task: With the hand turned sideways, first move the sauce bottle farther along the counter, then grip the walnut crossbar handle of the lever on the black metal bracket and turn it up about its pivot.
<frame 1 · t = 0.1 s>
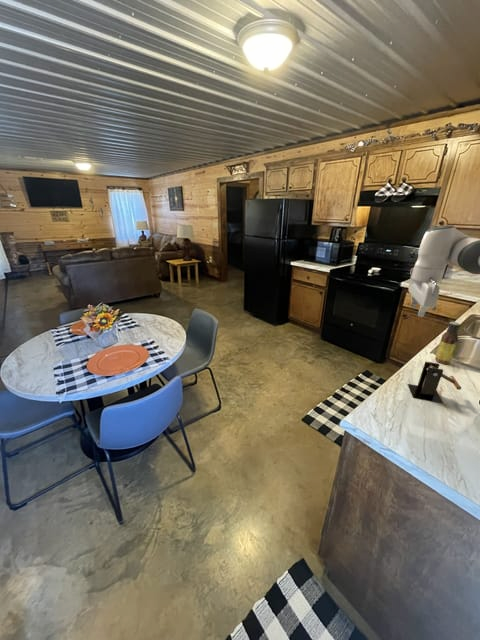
hand: (416, 311, 97), 33 cm above the counter, tool pointing down, fingers open, 8 cm apart
bracket: (423, 395, 103), on the counter
sauce bottle: (441, 361, 127), on the counter
lever: (442, 375, 98), point 10 cm above the counter, hinge at -25.0°
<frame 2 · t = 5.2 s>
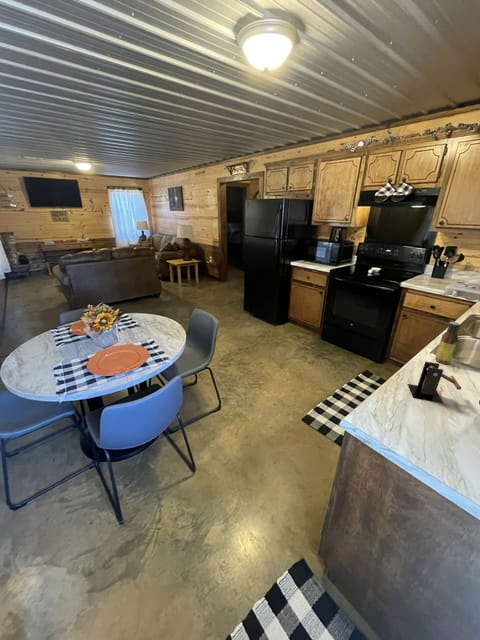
hand: (468, 297, 122), 30 cm above the counter, tool horizontal, fingers open, 8 cm apart
nothing on the counter moved.
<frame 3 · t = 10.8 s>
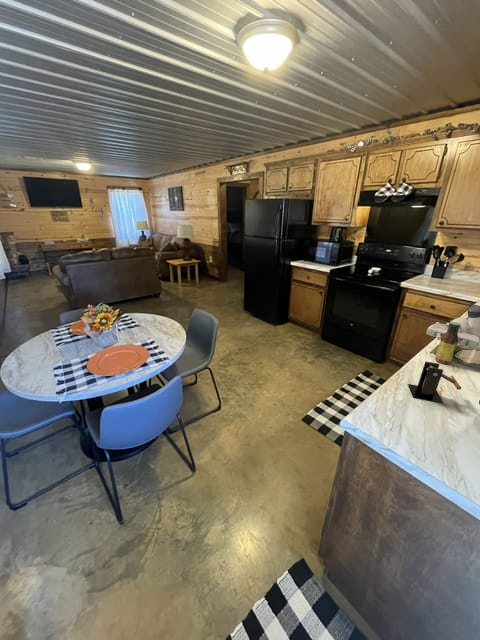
hand: (448, 341, 122), 11 cm above the counter, tool horizontal, fingers closed on sauce bottle, 6 cm apart
sauce bottle: (441, 361, 127), on the counter, touching gripper
everything else where it was.
when the fingers open (11 cm above the counter, at t = 17.1 s): sauce bottle stays where it is, on the counter.
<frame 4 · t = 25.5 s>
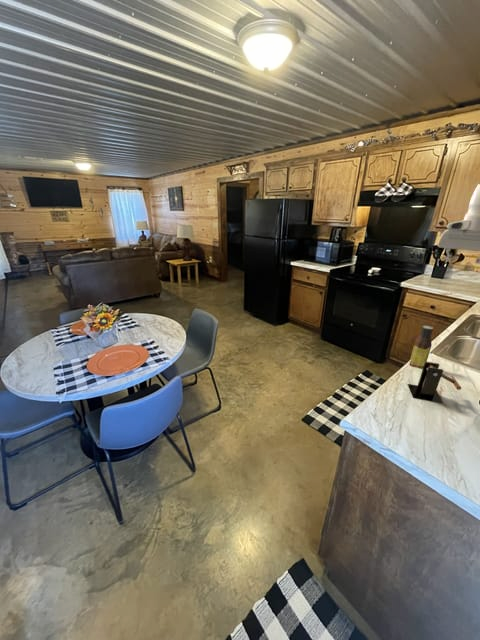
hand: (462, 261, 106), 48 cm above the counter, tool pointing down, fingers open, 8 cm apart
sauce bottle: (416, 366, 122), on the counter
everything else where it was.
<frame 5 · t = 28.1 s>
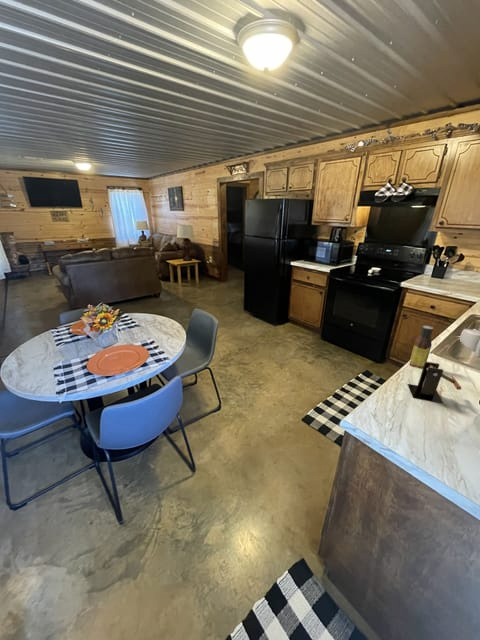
nothing on the counter moved.
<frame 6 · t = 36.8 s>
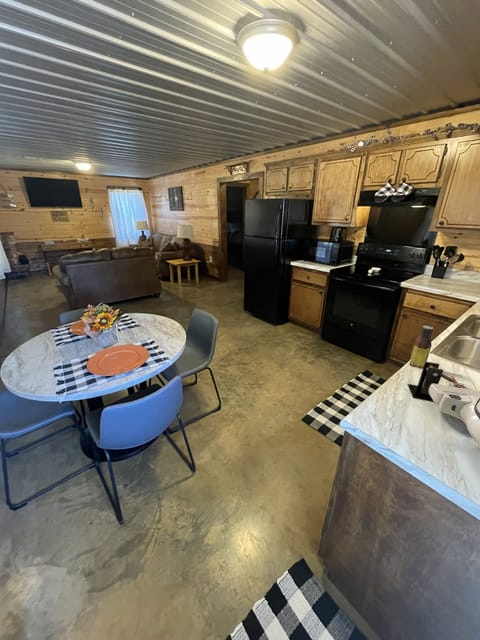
hand: (456, 384, 97), 8 cm above the counter, tool horizontal, fingers closed on lever
lever: (443, 375, 98), point 10 cm above the counter, hinge at -24.9°, touching gripper
everything else where it was.
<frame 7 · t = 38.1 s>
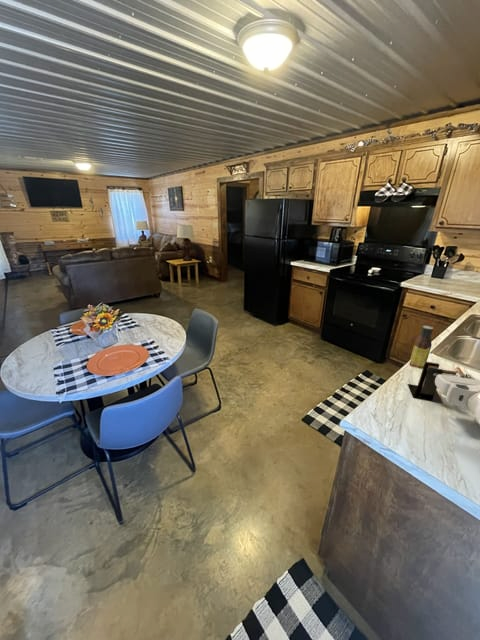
hand: (462, 375, 95), 12 cm above the counter, tool horizontal, fingers closed on lever
lever: (445, 371, 97), point 12 cm above the counter, hinge at 1.3°, touching gripper
everything else where it was.
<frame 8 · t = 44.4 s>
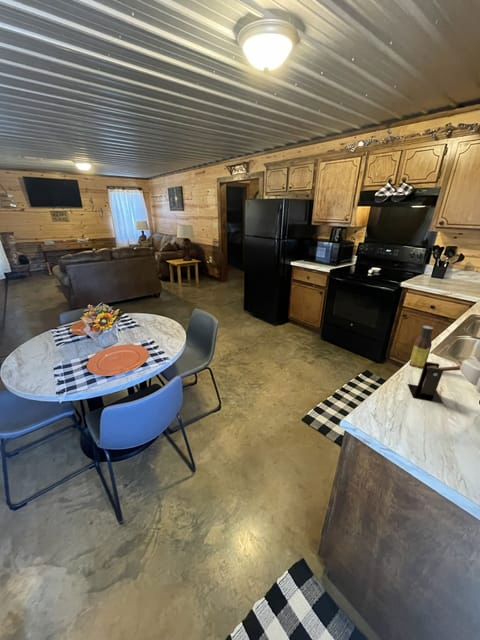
lever: (446, 369, 97), point 13 cm above the counter, hinge at 18.3°
everything else where it was.
at the end: sauce bottle inside the target area (0.0 cm from its centre), on the counter; sauce bottle tilted 0°; lever at +18° (first picture: -25°) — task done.
